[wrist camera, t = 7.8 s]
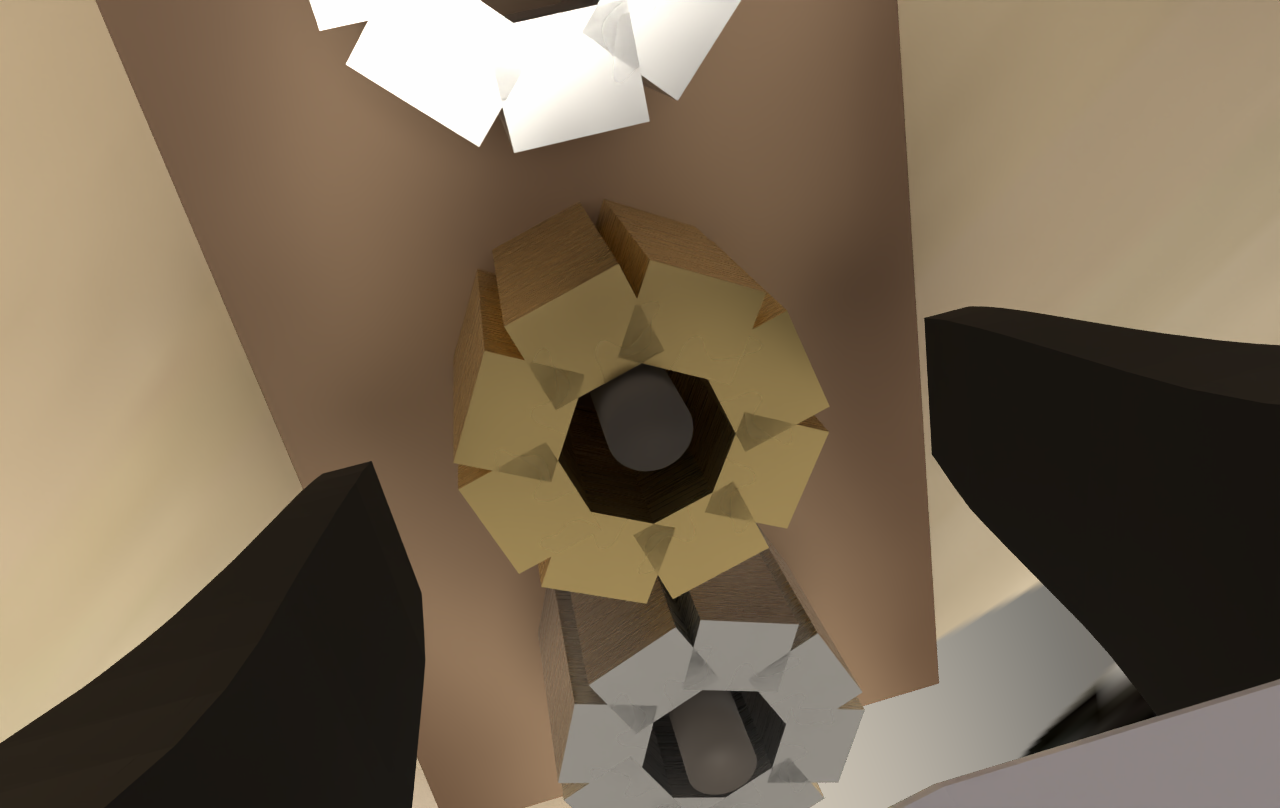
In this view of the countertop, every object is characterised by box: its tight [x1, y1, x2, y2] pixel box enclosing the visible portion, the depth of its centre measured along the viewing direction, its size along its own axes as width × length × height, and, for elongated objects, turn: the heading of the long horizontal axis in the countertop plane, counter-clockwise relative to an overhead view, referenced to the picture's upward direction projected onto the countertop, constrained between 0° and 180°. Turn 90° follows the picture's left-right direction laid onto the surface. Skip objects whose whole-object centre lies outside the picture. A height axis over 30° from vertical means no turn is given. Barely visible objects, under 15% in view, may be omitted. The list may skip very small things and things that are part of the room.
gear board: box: [96, 0, 939, 808], centre depth 15 cm, size 12×22×6 cm, turn 11°
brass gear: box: [453, 199, 830, 604], centre depth 15 cm, size 5×5×4 cm
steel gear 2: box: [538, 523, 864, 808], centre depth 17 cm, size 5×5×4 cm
